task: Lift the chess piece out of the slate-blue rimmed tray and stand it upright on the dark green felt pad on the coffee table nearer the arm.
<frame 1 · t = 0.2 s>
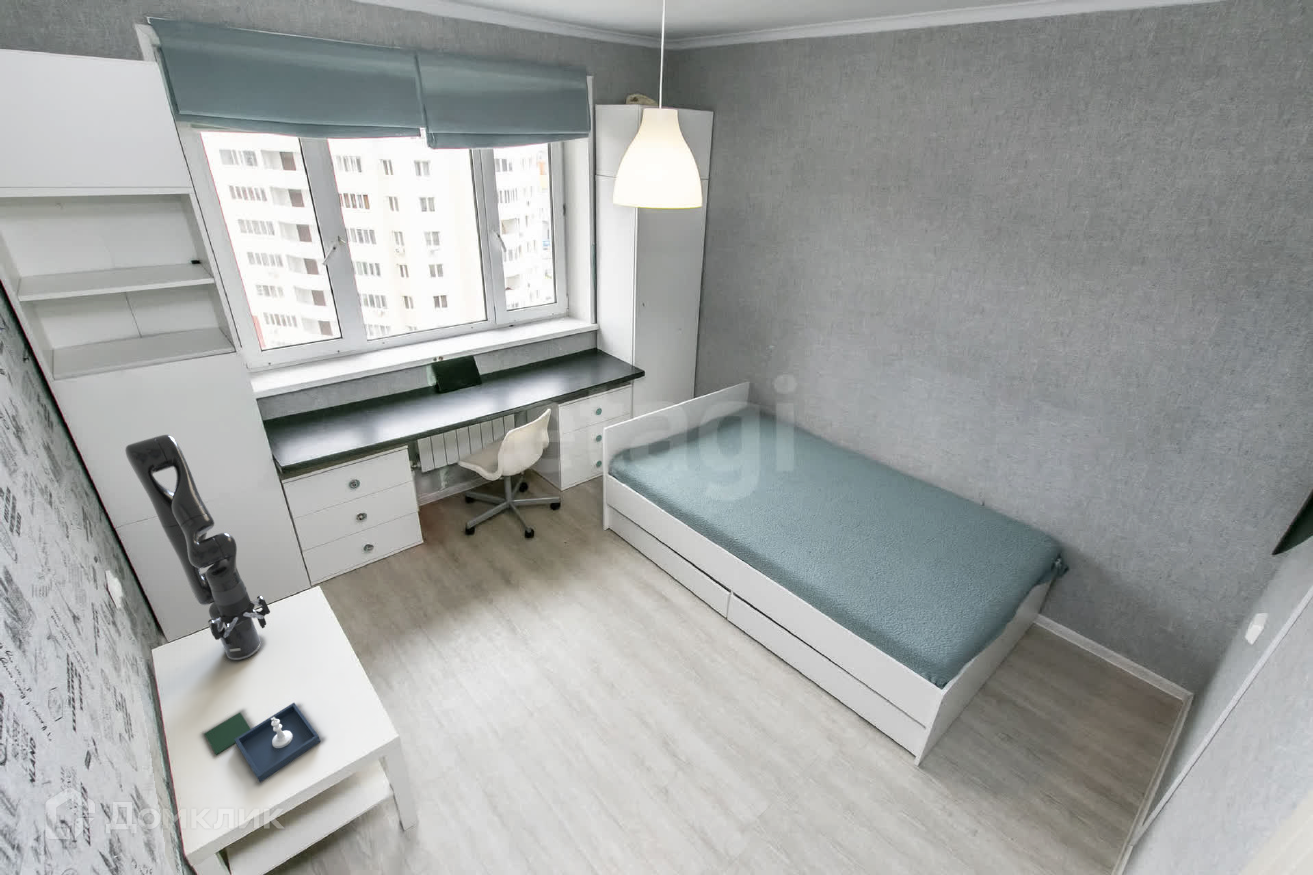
hand: (246, 634, 175), 17 cm above the table, tool pointing down, fingers open, 8 cm apart
pad: (228, 733, 167), on the table
tray: (279, 742, 166), on the table
chess piece: (282, 740, 166), resting on tray
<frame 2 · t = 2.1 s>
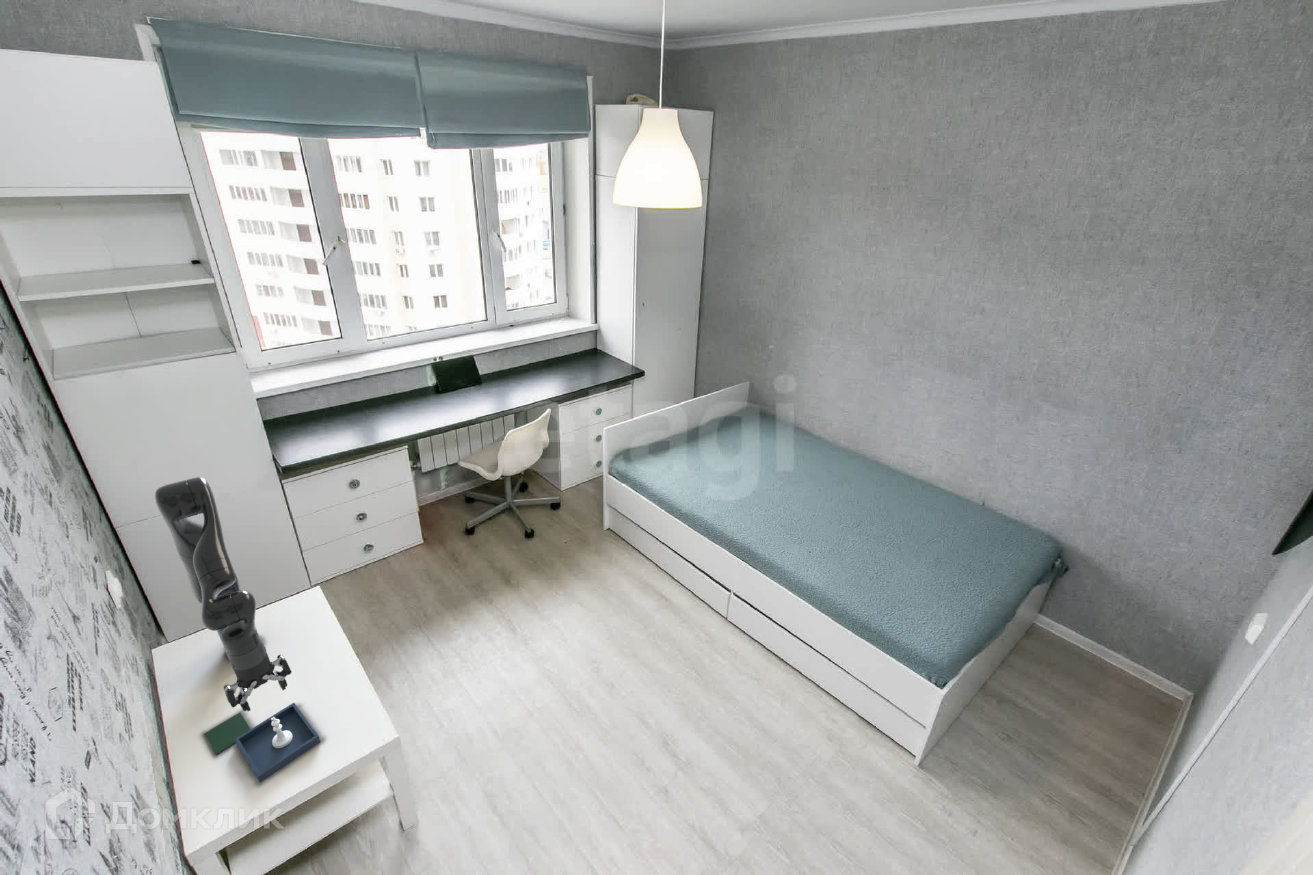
hand: (265, 698, 157), 18 cm above the table, tool pointing down, fingers open, 8 cm apart
nothing on the table moved.
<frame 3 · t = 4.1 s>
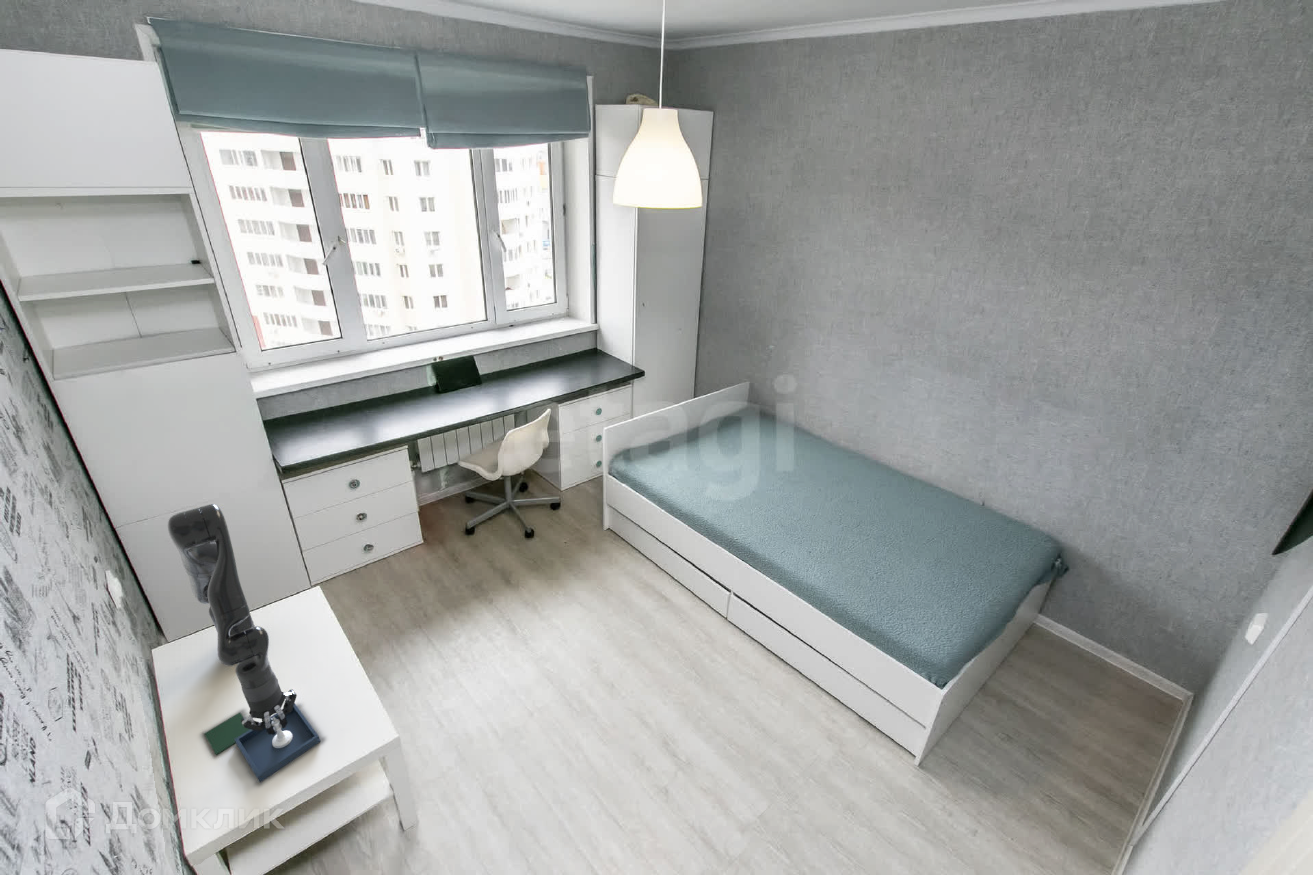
hand: (277, 728, 164), 5 cm above the table, tool pointing down, fingers closed on chess piece
chess piece: (282, 740, 166), resting on tray, touching gripper
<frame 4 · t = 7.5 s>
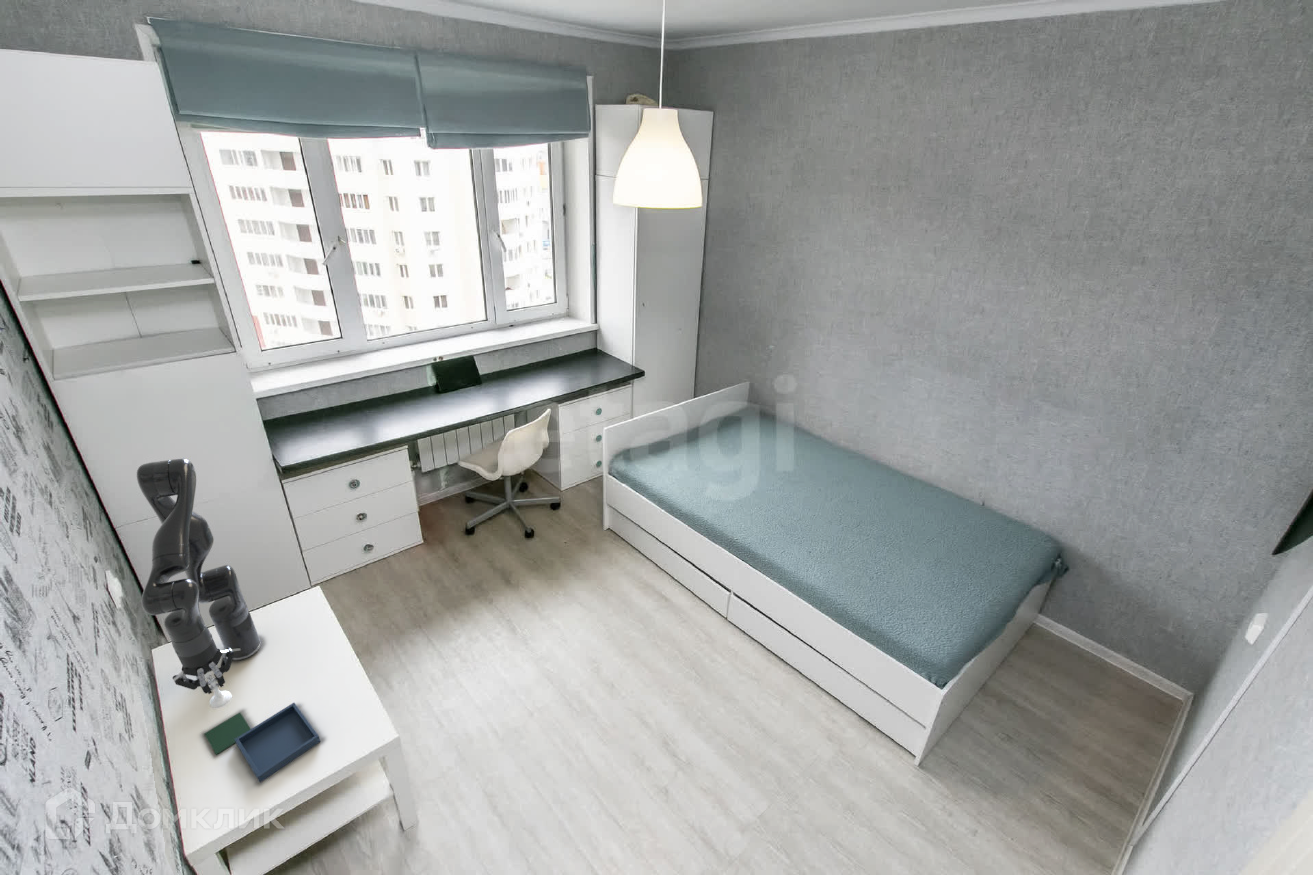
hand: (215, 688, 157), 20 cm above the table, tool pointing down, fingers closed on chess piece
chess piece: (221, 700, 160), point 15 cm above the table, touching gripper
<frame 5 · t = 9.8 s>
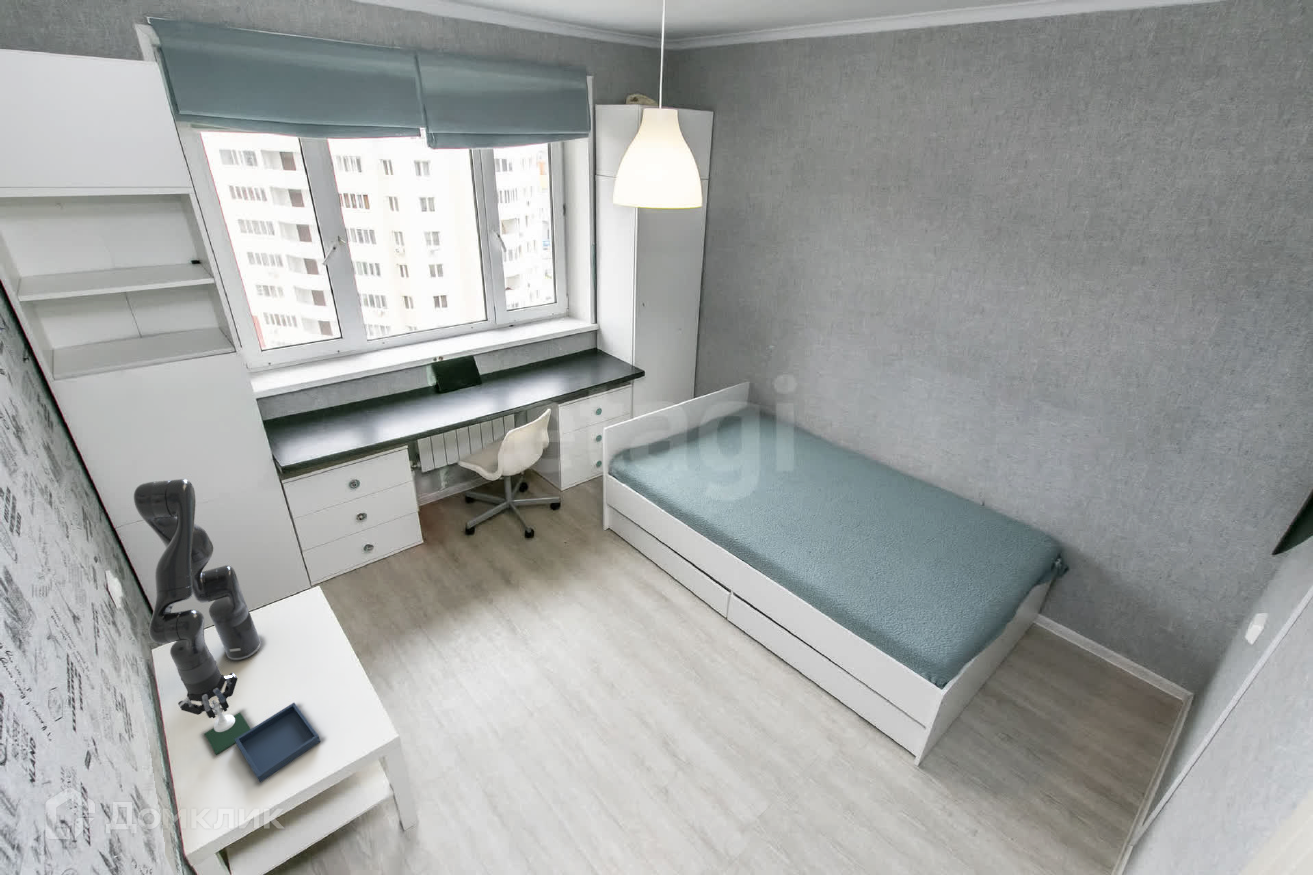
hand: (218, 712, 162), 9 cm above the table, tool pointing down, fingers closed on chess piece
chess piece: (224, 724, 165), point 4 cm above the table, touching gripper
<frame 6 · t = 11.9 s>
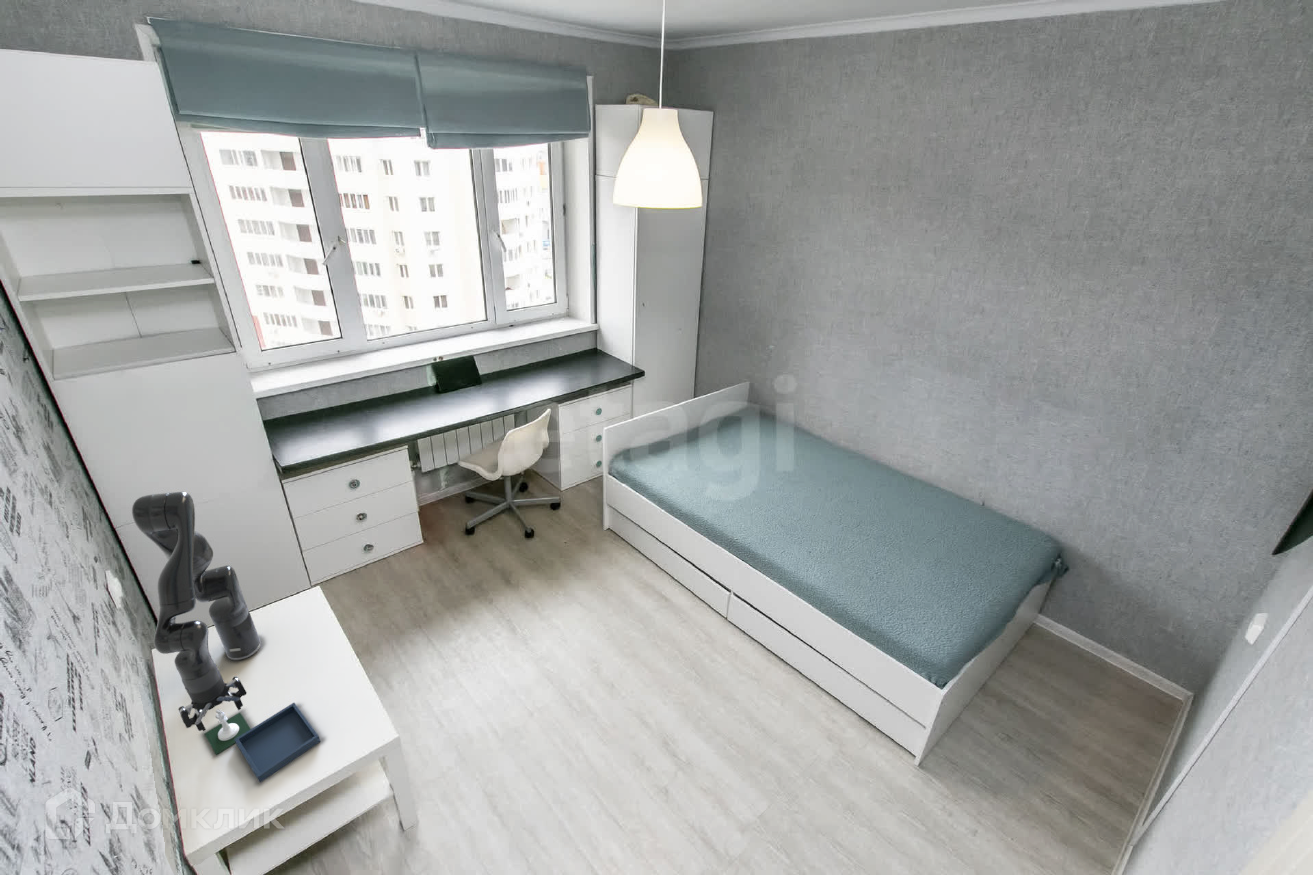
hand: (221, 718, 163), 7 cm above the table, tool pointing down, fingers open, 8 cm apart
chess piece: (229, 732, 167), resting on pad
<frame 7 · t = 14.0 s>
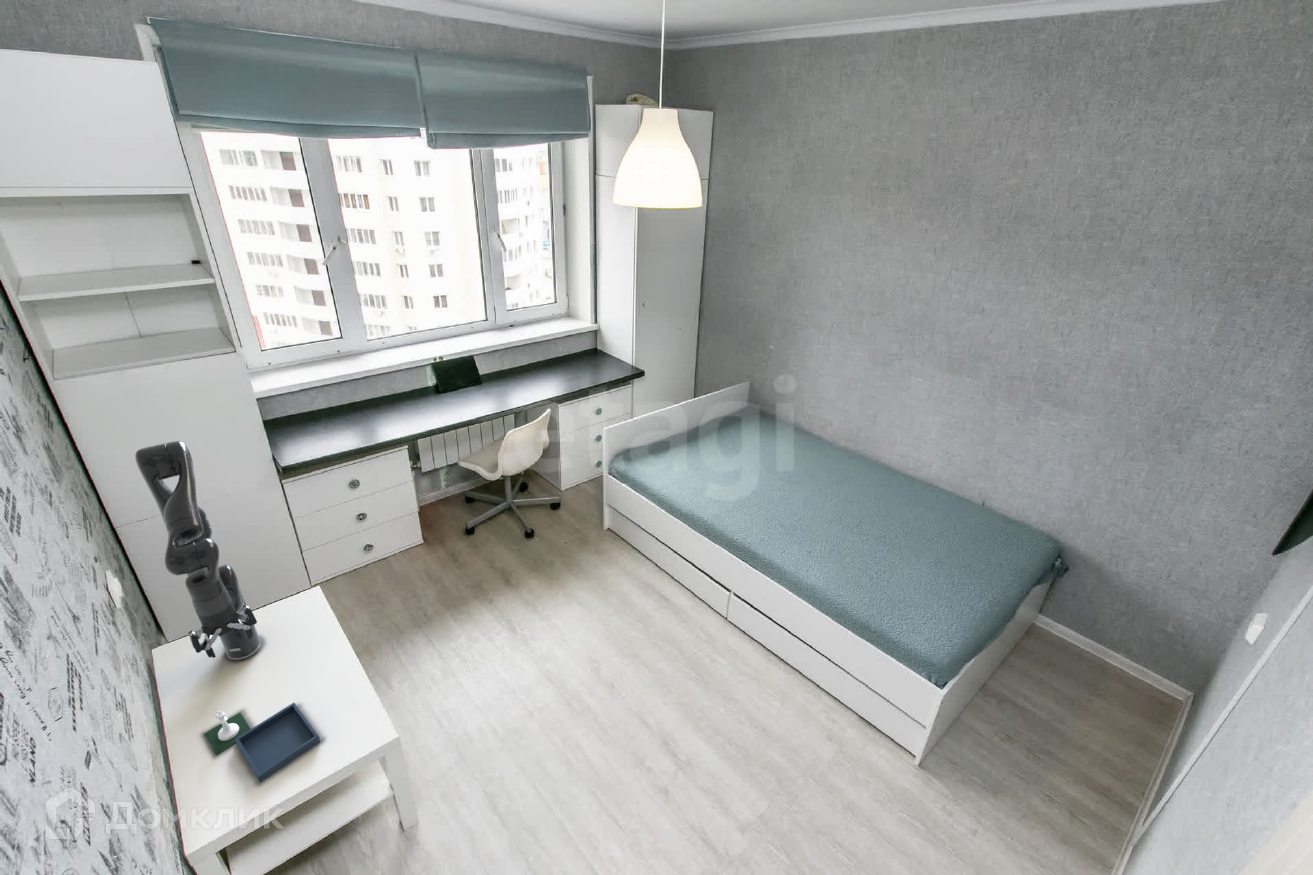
hand: (231, 646, 161), 26 cm above the table, tool pointing down, fingers open, 8 cm apart
nothing on the table moved.
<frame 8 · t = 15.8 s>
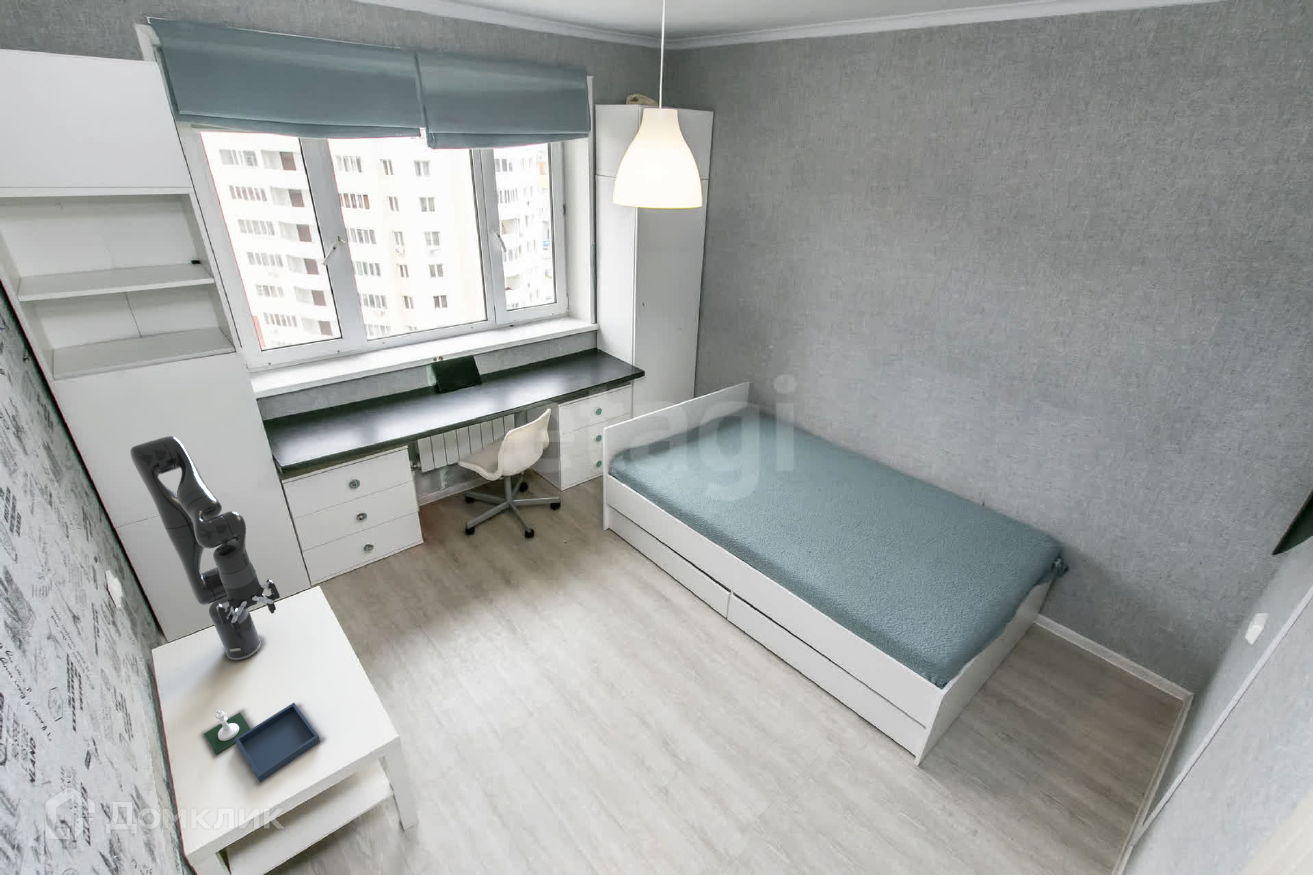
hand: (255, 620, 167), 28 cm above the table, tool pointing down, fingers open, 8 cm apart
nothing on the table moved.
at the end: chess piece 0.1 cm off-centre on the pad, point 0.2 cm above the pad's base; chess piece tilted 0°; chess piece touching pad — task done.
